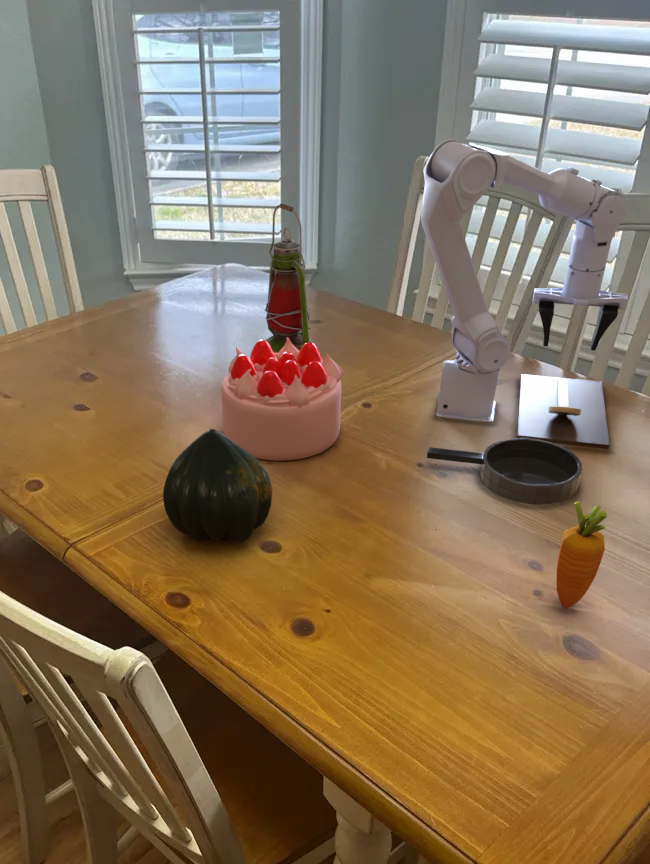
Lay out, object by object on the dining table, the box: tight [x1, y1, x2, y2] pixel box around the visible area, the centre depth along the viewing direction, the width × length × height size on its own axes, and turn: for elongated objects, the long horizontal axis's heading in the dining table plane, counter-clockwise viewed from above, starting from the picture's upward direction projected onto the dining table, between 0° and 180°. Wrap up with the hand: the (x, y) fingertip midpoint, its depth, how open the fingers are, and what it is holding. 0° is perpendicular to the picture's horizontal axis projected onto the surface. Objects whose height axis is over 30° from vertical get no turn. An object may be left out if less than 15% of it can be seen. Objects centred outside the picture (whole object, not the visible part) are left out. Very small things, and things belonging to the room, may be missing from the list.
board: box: [516, 373, 610, 450], centre depth 141 cm, size 14×24×1 cm, turn 163°
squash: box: [162, 428, 273, 543], centre depth 114 cm, size 14×15×15 cm
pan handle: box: [426, 446, 484, 465], centre depth 125 cm, size 8×2×1 cm, turn 73°
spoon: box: [548, 379, 581, 416], centre depth 140 cm, size 15×5×7 cm, turn 164°
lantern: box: [264, 203, 314, 353], centre depth 152 cm, size 14×11×30 cm
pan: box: [479, 437, 583, 505], centre depth 123 cm, size 14×14×4 cm
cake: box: [220, 337, 344, 462], centre depth 135 cm, size 20×20×14 cm
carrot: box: [556, 501, 608, 609], centre depth 96 cm, size 5×5×15 cm
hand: (569, 346), depth 140 cm, fingers open, 7 cm apart
